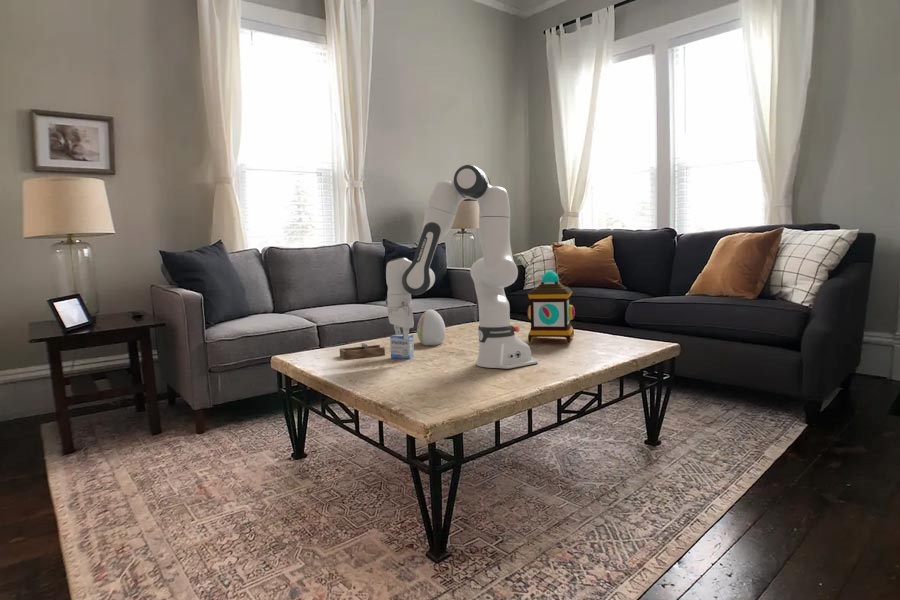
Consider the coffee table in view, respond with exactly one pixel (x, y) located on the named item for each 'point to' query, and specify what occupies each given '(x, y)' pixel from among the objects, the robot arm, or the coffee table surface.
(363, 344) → the pusher
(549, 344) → the coffee table surface
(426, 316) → the decorative egg
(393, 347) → the medicine box
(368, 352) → the wooden tray
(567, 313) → the decorative lantern
